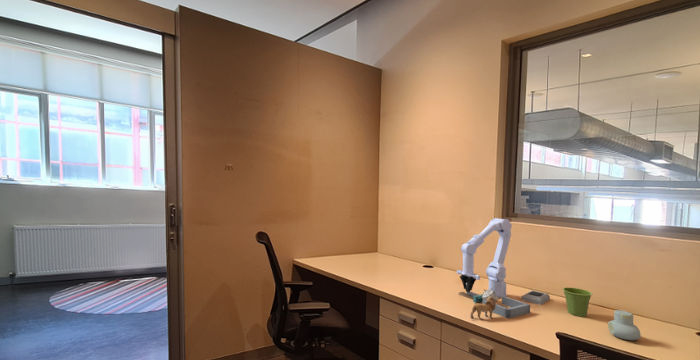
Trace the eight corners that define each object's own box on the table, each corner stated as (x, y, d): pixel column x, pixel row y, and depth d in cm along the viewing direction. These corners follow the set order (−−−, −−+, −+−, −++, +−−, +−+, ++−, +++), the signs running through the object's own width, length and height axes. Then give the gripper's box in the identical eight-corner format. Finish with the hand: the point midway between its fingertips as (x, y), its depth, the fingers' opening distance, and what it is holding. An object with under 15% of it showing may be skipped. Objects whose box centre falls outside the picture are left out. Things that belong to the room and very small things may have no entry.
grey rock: (493, 313, 159) (503, 301, 154) (477, 305, 161) (486, 293, 155) (493, 300, 166) (502, 288, 161) (477, 293, 168) (486, 281, 163)
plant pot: (557, 311, 154) (557, 288, 155) (572, 308, 159) (572, 286, 159) (582, 320, 143) (582, 295, 144) (598, 317, 148) (597, 293, 149)
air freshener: (642, 345, 120) (642, 319, 120) (615, 340, 123) (615, 315, 124) (631, 334, 130) (631, 310, 130) (606, 330, 133) (606, 306, 134)
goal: (503, 303, 163) (503, 296, 163) (530, 312, 151) (530, 304, 151) (482, 308, 155) (482, 300, 155) (508, 318, 143) (508, 309, 143)
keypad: (521, 294, 170) (530, 289, 180) (521, 300, 170) (530, 295, 180) (541, 298, 163) (549, 293, 173) (541, 305, 163) (549, 300, 173)
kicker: (472, 293, 177) (472, 280, 177) (489, 299, 167) (489, 285, 168) (459, 296, 171) (459, 282, 172) (475, 302, 162) (476, 288, 162)
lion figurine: (489, 313, 148) (489, 294, 149) (498, 317, 144) (499, 298, 144) (466, 318, 142) (467, 298, 142) (476, 322, 137) (476, 301, 138)
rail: (462, 293, 178) (462, 291, 178) (477, 299, 169) (477, 296, 169) (458, 294, 177) (459, 292, 177) (473, 299, 168) (473, 297, 168)
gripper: (453, 263, 178) (452, 286, 178) (474, 268, 166) (473, 294, 165) (461, 262, 182) (461, 285, 181) (482, 267, 169) (482, 292, 168)
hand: (467, 289), depth 173 cm, fingers closed on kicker, 2 cm apart
